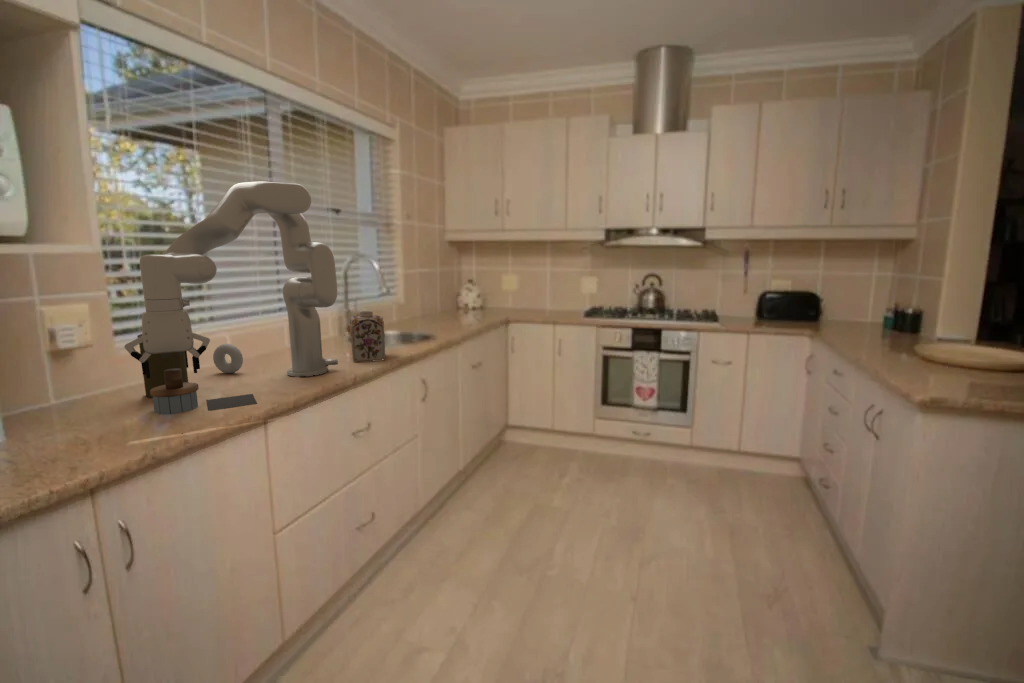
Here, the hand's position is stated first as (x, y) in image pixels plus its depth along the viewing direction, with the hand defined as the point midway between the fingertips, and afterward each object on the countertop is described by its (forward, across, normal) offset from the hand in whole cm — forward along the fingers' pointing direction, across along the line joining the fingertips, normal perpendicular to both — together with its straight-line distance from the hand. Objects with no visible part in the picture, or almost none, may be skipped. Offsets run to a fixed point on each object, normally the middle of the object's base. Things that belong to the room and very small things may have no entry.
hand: (172, 374), depth 123 cm
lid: (+4, 0, 0) cm, 4 cm away
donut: (+9, -14, -38) cm, 42 cm away
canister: (+9, +2, -18) cm, 20 cm away
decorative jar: (+10, -60, -37) cm, 71 cm away
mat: (+9, -12, +1) cm, 15 cm away
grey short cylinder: (+9, 0, 0) cm, 9 cm away
